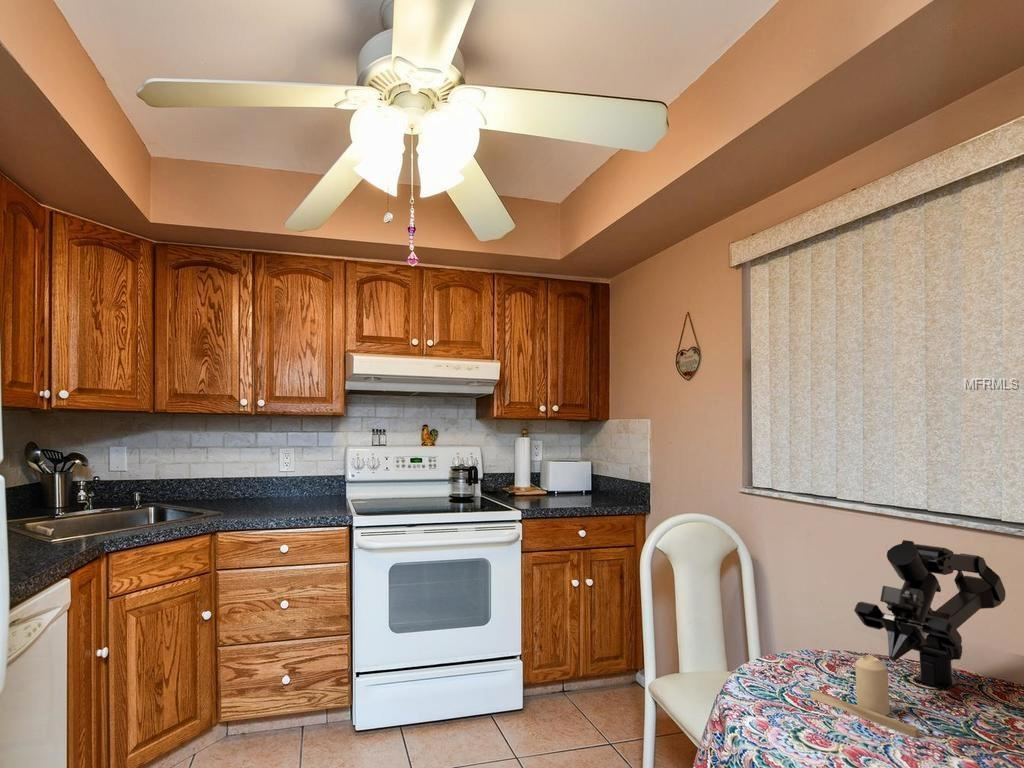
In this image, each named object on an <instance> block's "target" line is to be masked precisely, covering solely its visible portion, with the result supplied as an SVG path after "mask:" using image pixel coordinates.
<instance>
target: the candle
mask: <svg viewBox="0 0 1024 768" xmlns="http://www.w3.org/2000/svg"><path fill="white" fill-rule="evenodd" d="M854 664H855V665H854V666H855V667H854V670H855V689H856V690H855V691H856V706H859V707H861V708H864V709H867V710H870V711H872V712H875V713H878V714H881V715H883V716H886V717H888V716H889V715H890V712H891V709H890V708H891V706H890V689H889V673H888V672H889V671H888V666H887V664H885V662H882V661H881V660H880V659H879V658H877V657H876V656H873V655H872V654H869V655H865V654H864V655H863V656H861V657H860V658H859V659H857V660H856V661H854Z"/></svg>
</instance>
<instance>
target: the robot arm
mask: <svg viewBox="0 0 1024 768" xmlns="http://www.w3.org/2000/svg"><path fill="white" fill-rule="evenodd" d="M886 558H887V561H888V562H889V564H890V565H891V567H892V568H893V569H894V571H895V573H896V575H897V576H898V577H899V579H900V580H903V585H902V587H901V588H898V587H897V588H896V587H894V586H893V587H892V586H887V585H882V587H881V588H882V589H881V595H880V599H879V600H880V602H881V603H885V604H887V605H886V609H887V610H888V611H889V612H887V611H882V610H881V608H880V606H878V604H875V603H869V602H865V601H860V602H859V601H858V602H857V603H856V605H855V607H854V609H853V611H854V613H855V614H856V616H857V617H858V619H859V620H860V621H861V623H862V624H863V625H864V626H866V627H868V628H871V629H875V630H882V629H885V630H886V633H887V639H888V640H887V642H888V657H889V660H890V661H894V662H896V661H897V660H899V659H900V658H902V656H905V654H908V653H909V652H910V651H912V650H913V651H917V652H918V653H919V670H920V674H919V675H916V676H914V677H913V681H915V682H919V683H921V684H926V685H929V686H931V687H935V688H938V689H942V690H949V689H951V688H953V687H955V686H958V685H961V682H960V680H958V679H954V678H953V670H952V668H953V667H952V661H954V660H961V659H962V658H961V657H962V655H963V645H962V642H963V638H962V635H961V634H960V633H959V631H958V629H959V627H961V626H962V625H963V624H965V622H967V621H968V620H969V619H970V618H972V616H973V615H974V614H975V615H976V613H978V611H979V610H982V609H985V610H986V609H995V608H997V607H999V606H1001V604H1002V603H1003V602H1004V601H1005V600H1006V596H1007V595H1006V588H1005V586H1004V583H1003V581H1002V578H1001V577H1000V575H998V574H997V573H996V572H995V570H994V571H993V569H992V568H991V567H990V566H988V565H987V562H986V560H985V558H984V557H982V556H980V555H975V554H969V553H954V551H953V550H950V549H949V548H947V547H941V546H934V545H933V546H932V545H926V544H918V543H915V542H914V541H913V540H905V539H903V540H902V541H901V543H900V544H896V545H893V546H892V547H891V548H890V549H887V552H886ZM954 571H957V573H956V575H955V578H954V581H953V582H954V583H955V585H956V587H957V591H958V592H957V593H956V594H954V596H951V598H950V599H949V600H947V601H946V602H944V603H943V604H942V605H940V607H938V608H937V609H935V610H933V608H932V607H931V606H932V603H933V600H934V597H935V595H936V592H937V593H941V591H942V589H941V588H942V587H941V584H940V582H939V580H938V579H937V577H936V575H935V574H937V575H942V576H946V575H952V574H953V573H954ZM963 572H967V573H973V574H978V575H979V577H977V576H971V575H964V573H963Z"/></svg>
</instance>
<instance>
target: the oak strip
mask: <svg viewBox="0 0 1024 768" xmlns="http://www.w3.org/2000/svg"><path fill="white" fill-rule="evenodd" d="M809 693H810V699H812V700H815V701H818V702H819V703H822V704H826V705H827V706H828V705H829V706H831V707H833V708H836V709H839V710H841V711H843V712H846V711H847V713H849V714H852V715H854V716H858V717H860V718H863V719H865V720H868V721H870V720H871V721H870V722H873V721H874V722H873V723H875V722H877V723H876V724H878V723H879V724H878V725H881V724H882V725H881V726H883V725H884V727H886V726H887V727H886V728H889V727H890V728H889V729H891V728H892V729H891V730H894V729H895V731H897V732H900V733H902V734H905V735H908V736H910V737H914V738H915V737H916V738H918V737H920V736H921V735H920V733H921V732H920V731H921V730H920V728H918V727H916V726H913V725H910V724H908V723H905V722H902V721H899V720H897V719H894V718H891V717H888V716H883V715H881V714H878V713H875V712H872V711H870V710H867V709H864V708H861V707H859V706H857V704H853V703H850V702H847V701H844V700H842V699H839V698H836V697H835V696H832V695H828V694H826V693H822V692H820V691H817V690H812V691H810V692H809Z"/></svg>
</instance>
